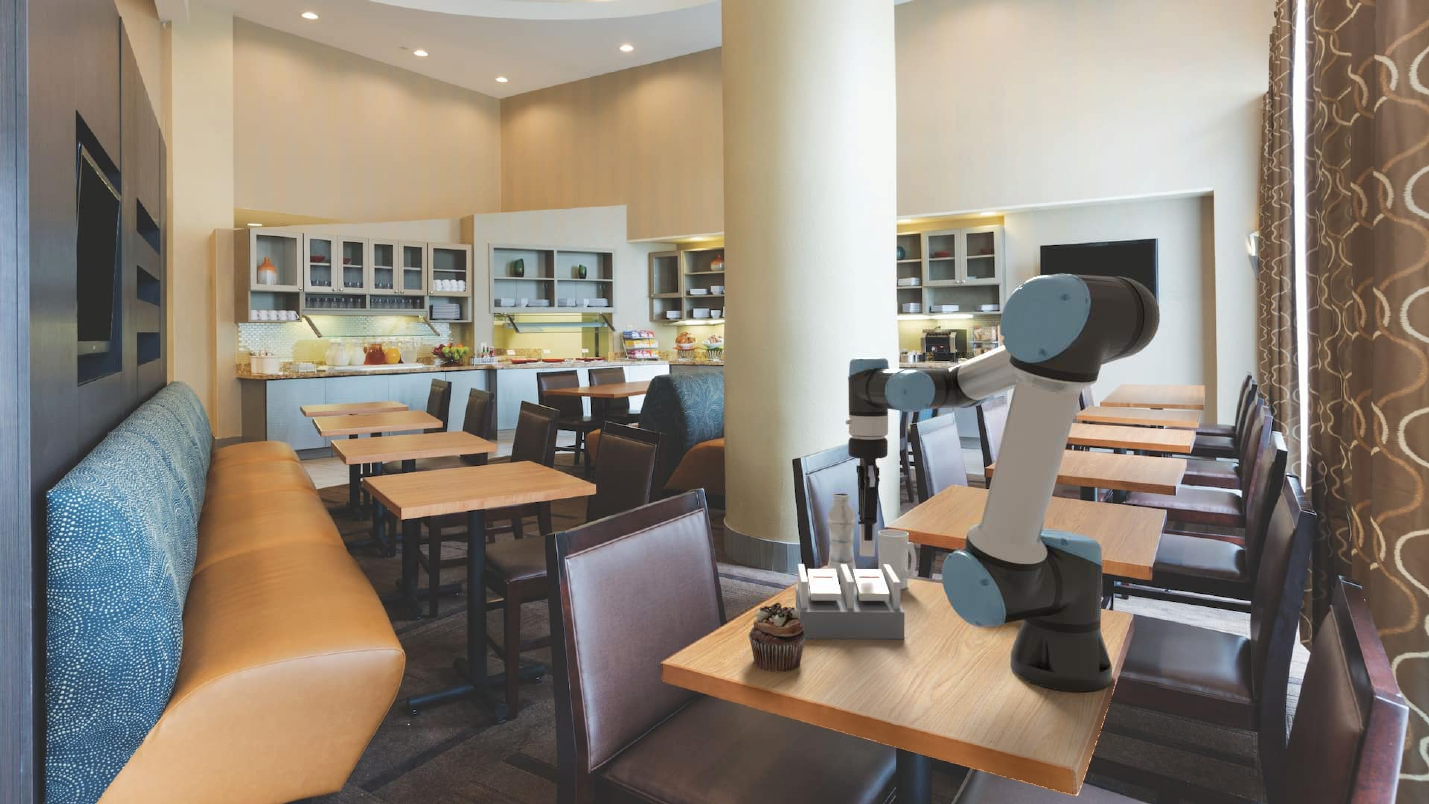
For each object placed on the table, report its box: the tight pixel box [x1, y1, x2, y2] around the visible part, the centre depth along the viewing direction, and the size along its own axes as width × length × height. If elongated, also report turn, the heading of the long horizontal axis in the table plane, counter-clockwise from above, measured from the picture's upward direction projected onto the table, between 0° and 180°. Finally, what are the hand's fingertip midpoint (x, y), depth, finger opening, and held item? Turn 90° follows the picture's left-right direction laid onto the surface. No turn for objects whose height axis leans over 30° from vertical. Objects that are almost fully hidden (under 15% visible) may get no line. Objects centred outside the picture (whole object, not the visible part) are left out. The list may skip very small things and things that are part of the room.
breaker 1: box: [807, 568, 841, 601], centre depth 150 cm, size 10×6×2 cm, turn 177°
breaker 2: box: [853, 568, 889, 601], centre depth 149 cm, size 10×6×2 cm, turn 177°
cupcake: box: [748, 602, 806, 673], centre depth 132 cm, size 10×10×10 cm
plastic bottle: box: [826, 492, 857, 582], centre depth 177 cm, size 6×7×20 cm
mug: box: [877, 529, 917, 590], centre depth 172 cm, size 10×7×12 cm, turn 32°
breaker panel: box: [795, 563, 905, 640], centre depth 150 cm, size 16×19×10 cm
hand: (867, 555), depth 153 cm, fingers closed
